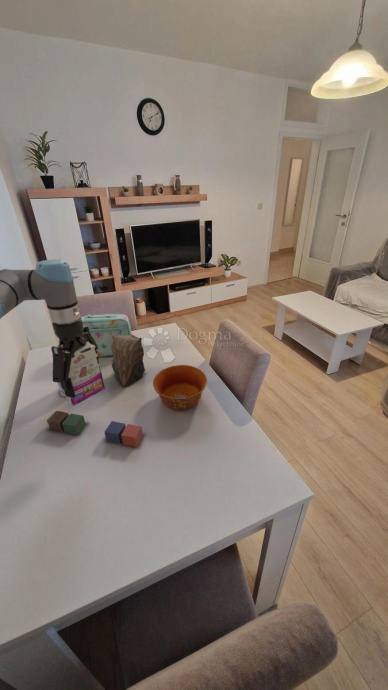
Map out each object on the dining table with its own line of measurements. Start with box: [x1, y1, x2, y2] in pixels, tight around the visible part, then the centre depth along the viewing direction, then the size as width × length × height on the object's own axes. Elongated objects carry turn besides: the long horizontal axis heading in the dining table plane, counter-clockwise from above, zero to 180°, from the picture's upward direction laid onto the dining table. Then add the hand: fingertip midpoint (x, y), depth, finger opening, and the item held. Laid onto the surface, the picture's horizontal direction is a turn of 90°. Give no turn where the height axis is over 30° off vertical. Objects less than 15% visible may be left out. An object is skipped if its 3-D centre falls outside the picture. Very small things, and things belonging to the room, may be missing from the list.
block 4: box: [121, 423, 144, 448], centre depth 92 cm, size 5×5×5 cm
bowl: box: [152, 364, 208, 411], centre depth 109 cm, size 21×21×10 cm
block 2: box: [62, 413, 87, 436], centre depth 97 cm, size 5×5×5 cm
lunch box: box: [80, 313, 132, 358], centre depth 138 cm, size 27×10×21 cm, turn 102°
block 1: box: [46, 410, 70, 433], centre depth 98 cm, size 5×5×5 cm
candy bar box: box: [52, 341, 106, 406], centre depth 83 cm, size 11×5×16 cm, turn 137°
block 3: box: [104, 420, 127, 445], centre depth 94 cm, size 5×5×5 cm
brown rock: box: [111, 333, 146, 388], centre depth 120 cm, size 13×13×20 cm
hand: (82, 383), depth 85 cm, fingers closed on candy bar box, 12 cm apart
